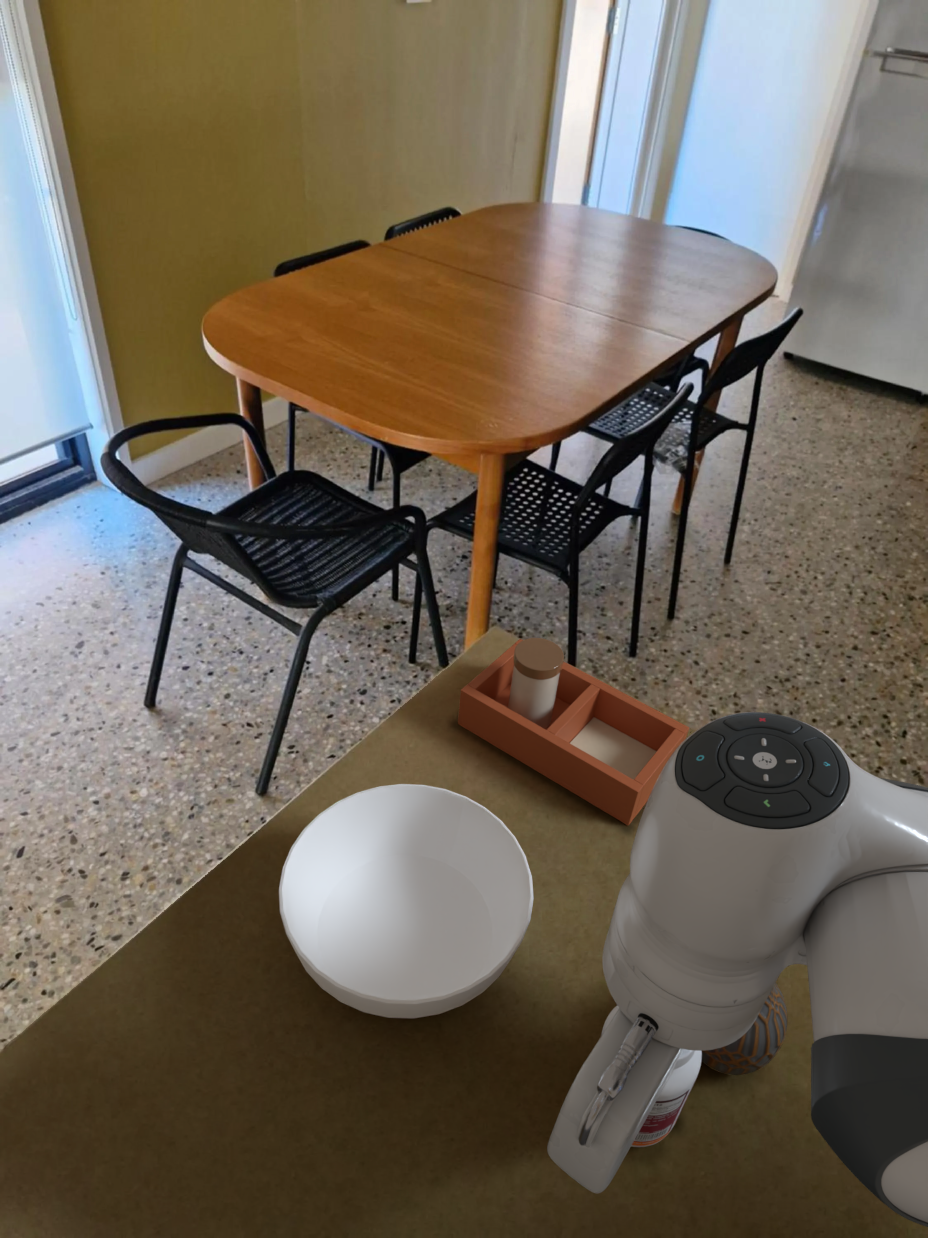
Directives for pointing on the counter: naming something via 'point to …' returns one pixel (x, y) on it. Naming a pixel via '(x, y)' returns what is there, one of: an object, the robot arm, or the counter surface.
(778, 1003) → the vase
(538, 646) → the spice jar
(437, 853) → the bowl
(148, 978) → the counter surface
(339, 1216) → the counter surface
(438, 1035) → the counter surface
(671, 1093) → the pill bottle
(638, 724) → the divided tray
